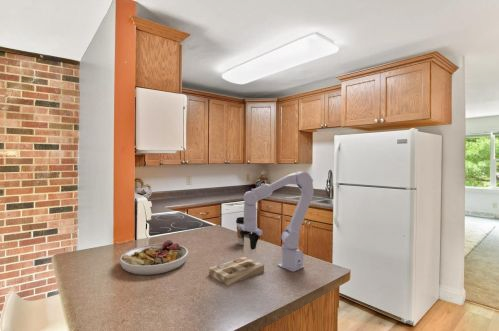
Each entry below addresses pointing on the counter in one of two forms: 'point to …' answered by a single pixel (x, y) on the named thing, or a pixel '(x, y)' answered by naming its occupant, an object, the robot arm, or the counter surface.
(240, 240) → the coffee cup
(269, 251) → the counter surface
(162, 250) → the bowl
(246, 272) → the socket block
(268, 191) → the robot arm
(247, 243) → the plug
